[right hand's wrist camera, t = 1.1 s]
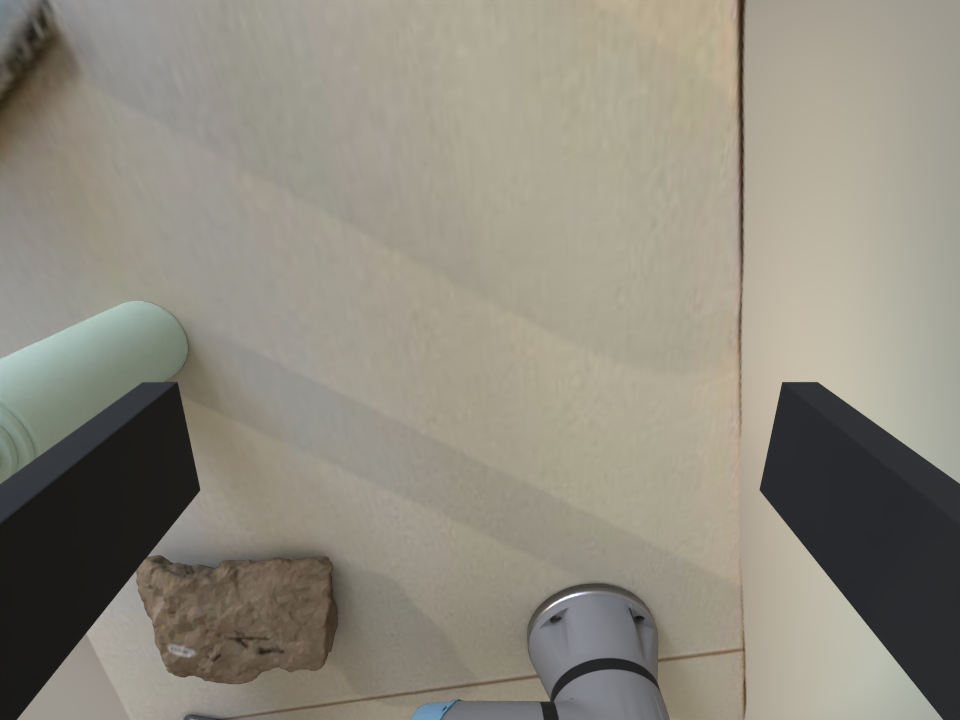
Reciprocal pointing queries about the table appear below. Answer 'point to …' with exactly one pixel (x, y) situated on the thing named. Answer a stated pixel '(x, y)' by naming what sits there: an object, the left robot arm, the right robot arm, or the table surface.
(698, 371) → the table surface
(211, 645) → the stone
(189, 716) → the graphics card box
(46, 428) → the bottle
